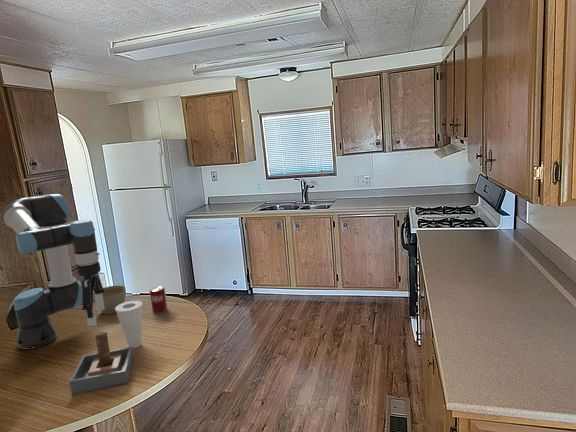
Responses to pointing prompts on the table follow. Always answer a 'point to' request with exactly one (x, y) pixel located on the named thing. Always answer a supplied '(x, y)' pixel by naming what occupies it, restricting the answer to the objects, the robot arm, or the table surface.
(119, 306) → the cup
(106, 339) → the peg
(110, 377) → the box
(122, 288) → the planter bowl
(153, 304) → the soda can
